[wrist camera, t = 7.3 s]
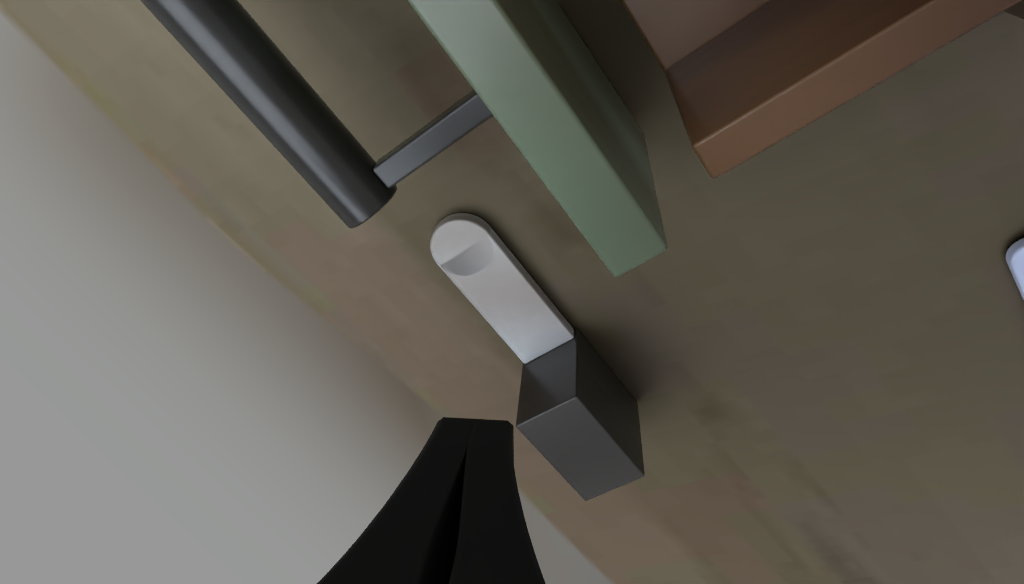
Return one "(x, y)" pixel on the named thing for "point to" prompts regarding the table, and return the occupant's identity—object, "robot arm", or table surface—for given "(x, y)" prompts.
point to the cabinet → (1017, 9)
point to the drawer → (584, 92)
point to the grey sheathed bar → (546, 363)
